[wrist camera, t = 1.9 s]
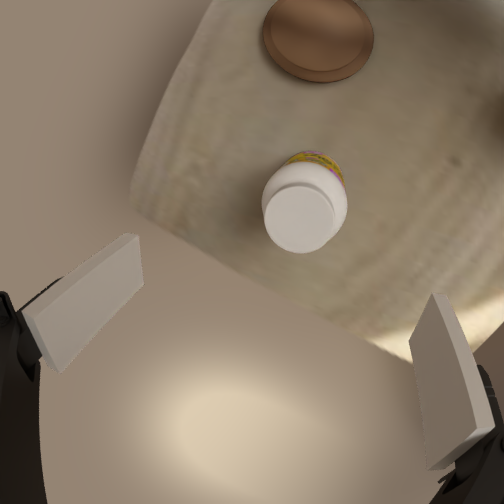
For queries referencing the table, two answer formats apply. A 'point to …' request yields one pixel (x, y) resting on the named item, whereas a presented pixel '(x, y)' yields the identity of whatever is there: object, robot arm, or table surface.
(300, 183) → the supplement bottle
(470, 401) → the robot arm
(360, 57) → the plinth
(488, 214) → the table surface
